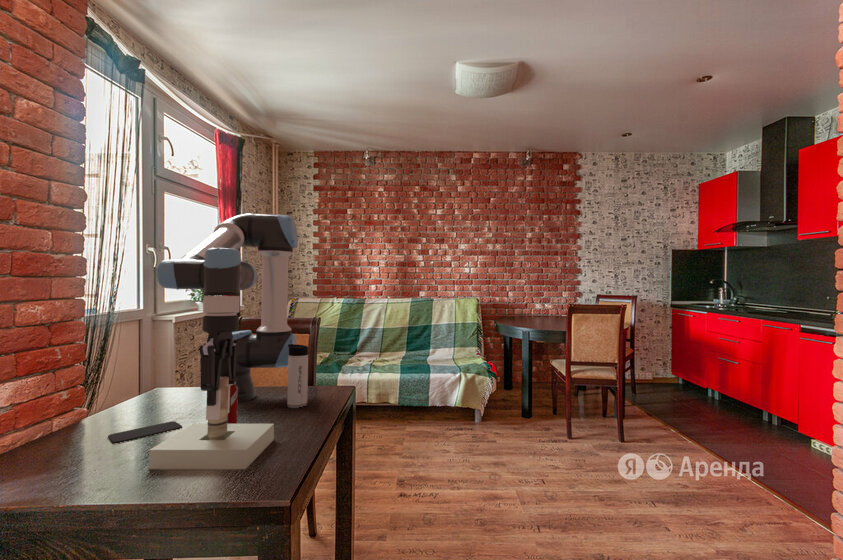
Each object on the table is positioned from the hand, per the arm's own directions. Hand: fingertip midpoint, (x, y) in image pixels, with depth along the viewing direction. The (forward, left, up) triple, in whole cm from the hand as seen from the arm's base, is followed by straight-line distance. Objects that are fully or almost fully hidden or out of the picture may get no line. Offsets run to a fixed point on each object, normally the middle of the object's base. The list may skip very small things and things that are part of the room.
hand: (218, 415), depth 87 cm
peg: (0, 0, -5) cm, 5 cm away
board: (0, 0, -9) cm, 9 cm away
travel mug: (-37, +7, -9) cm, 39 cm away
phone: (-13, -25, -9) cm, 30 cm away
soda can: (-17, -7, -9) cm, 20 cm away
